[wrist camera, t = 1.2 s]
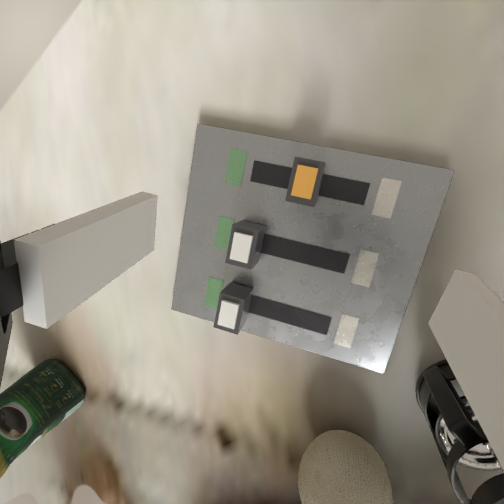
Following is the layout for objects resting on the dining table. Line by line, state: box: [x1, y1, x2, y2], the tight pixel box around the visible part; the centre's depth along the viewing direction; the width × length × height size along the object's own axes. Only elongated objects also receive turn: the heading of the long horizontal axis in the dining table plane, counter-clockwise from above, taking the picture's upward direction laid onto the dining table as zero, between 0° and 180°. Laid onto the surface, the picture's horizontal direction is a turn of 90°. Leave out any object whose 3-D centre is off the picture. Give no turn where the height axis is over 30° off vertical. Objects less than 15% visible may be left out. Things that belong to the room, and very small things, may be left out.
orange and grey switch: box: [285, 157, 326, 207], centre depth 33 cm, size 4×3×4 cm
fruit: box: [298, 430, 393, 504], centre depth 36 cm, size 10×12×15 cm
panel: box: [171, 124, 455, 374], centre depth 38 cm, size 24×28×2 cm
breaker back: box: [214, 282, 253, 334], centre depth 38 cm, size 4×3×4 cm
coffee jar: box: [0, 359, 85, 478], centre depth 44 cm, size 10×8×19 cm
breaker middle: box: [225, 220, 266, 270], centre depth 36 cm, size 4×3×4 cm
